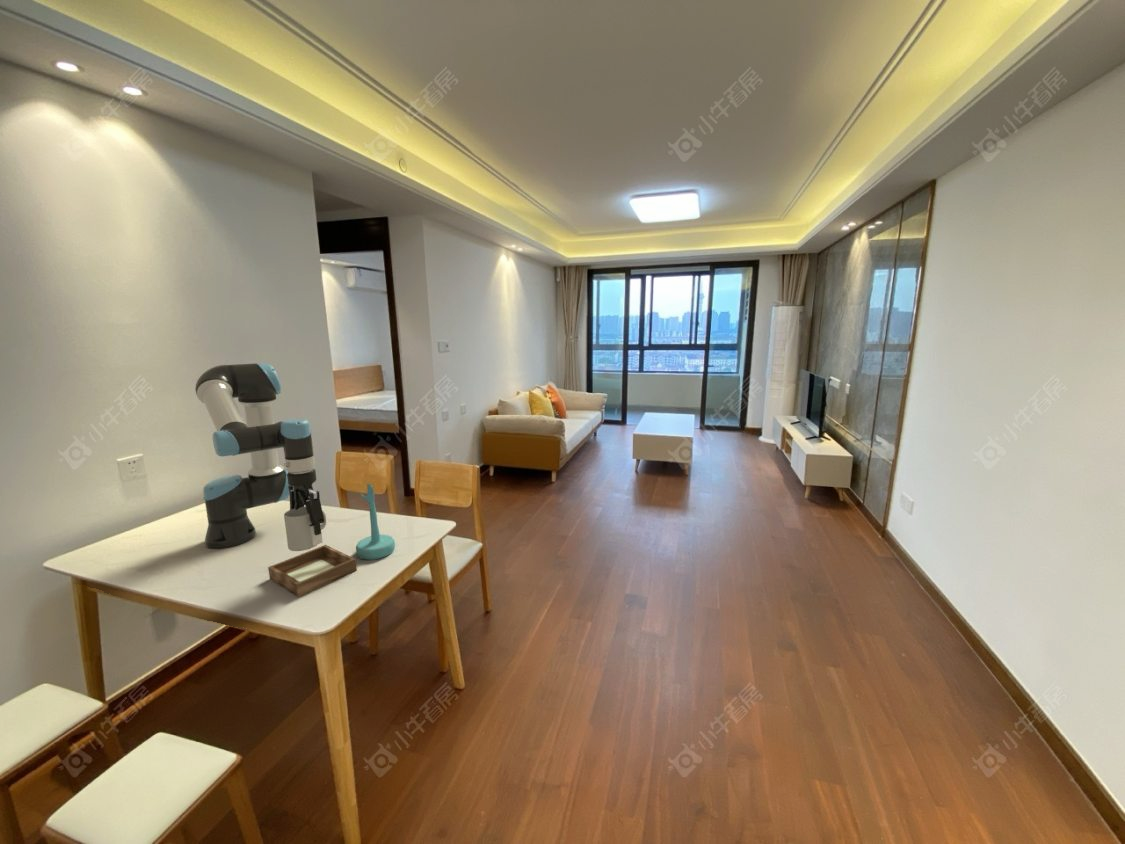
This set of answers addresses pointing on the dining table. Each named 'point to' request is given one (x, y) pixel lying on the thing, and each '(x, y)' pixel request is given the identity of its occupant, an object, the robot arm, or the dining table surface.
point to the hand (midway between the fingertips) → (309, 540)
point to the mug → (299, 529)
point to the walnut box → (312, 570)
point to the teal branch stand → (374, 535)
